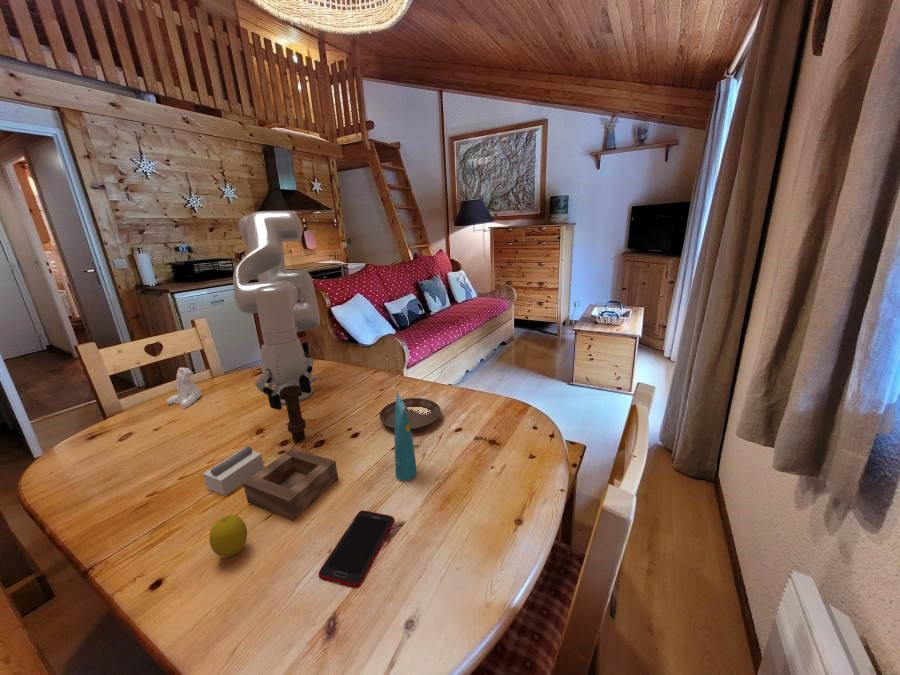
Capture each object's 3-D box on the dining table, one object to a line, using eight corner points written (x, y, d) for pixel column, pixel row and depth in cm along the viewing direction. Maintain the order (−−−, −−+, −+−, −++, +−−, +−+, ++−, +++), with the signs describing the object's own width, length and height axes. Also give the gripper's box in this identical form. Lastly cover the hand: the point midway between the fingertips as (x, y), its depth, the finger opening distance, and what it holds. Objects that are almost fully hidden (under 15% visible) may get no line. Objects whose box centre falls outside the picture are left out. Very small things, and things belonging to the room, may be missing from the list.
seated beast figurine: (165, 404, 120) (154, 371, 116) (191, 393, 127) (182, 361, 123) (184, 409, 116) (174, 375, 112) (209, 397, 124) (201, 365, 120)
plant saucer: (377, 411, 112) (376, 402, 111) (433, 402, 117) (432, 393, 116) (383, 443, 96) (382, 433, 95) (448, 431, 100) (447, 421, 99)
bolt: (314, 434, 100) (305, 385, 95) (305, 445, 95) (296, 394, 91) (293, 434, 101) (284, 385, 96) (284, 445, 96) (274, 393, 91)
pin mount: (247, 461, 90) (242, 442, 88) (264, 467, 87) (259, 447, 85) (207, 488, 81) (200, 467, 79) (225, 495, 79) (219, 474, 77)
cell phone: (316, 579, 60) (315, 575, 60) (360, 513, 73) (360, 509, 73) (358, 591, 58) (358, 586, 58) (396, 520, 71) (395, 516, 71)
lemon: (225, 541, 67) (215, 507, 65) (256, 538, 68) (247, 504, 65) (209, 568, 62) (197, 532, 60) (242, 565, 62) (232, 529, 60)
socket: (295, 465, 88) (292, 447, 86) (338, 479, 82) (335, 461, 81) (247, 502, 76) (242, 483, 75) (293, 521, 71) (289, 501, 70)
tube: (421, 480, 81) (416, 404, 75) (401, 487, 79) (394, 409, 73) (410, 461, 88) (404, 390, 82) (391, 468, 86) (384, 394, 80)
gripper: (296, 326, 98) (306, 384, 102) (237, 345, 82) (252, 413, 87) (317, 328, 94) (326, 388, 99) (260, 348, 79) (274, 418, 84)
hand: (292, 400), depth 93 cm, fingers open, 9 cm apart
